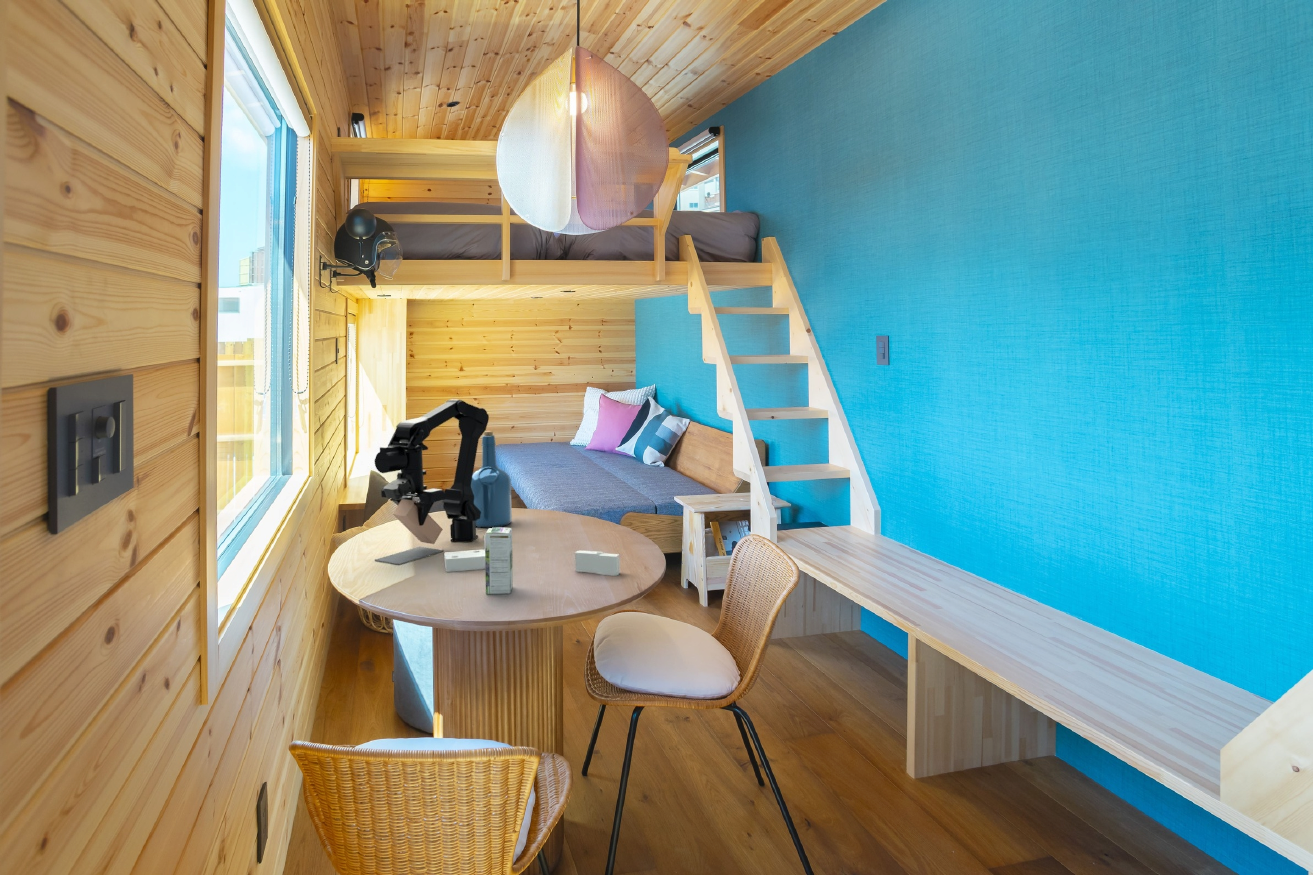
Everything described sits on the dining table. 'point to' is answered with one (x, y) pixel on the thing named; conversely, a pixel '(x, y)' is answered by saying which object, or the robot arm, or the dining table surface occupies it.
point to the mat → (409, 555)
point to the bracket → (465, 560)
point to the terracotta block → (417, 522)
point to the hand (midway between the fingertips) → (414, 524)
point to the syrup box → (498, 560)
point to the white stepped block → (597, 562)
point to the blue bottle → (491, 488)
